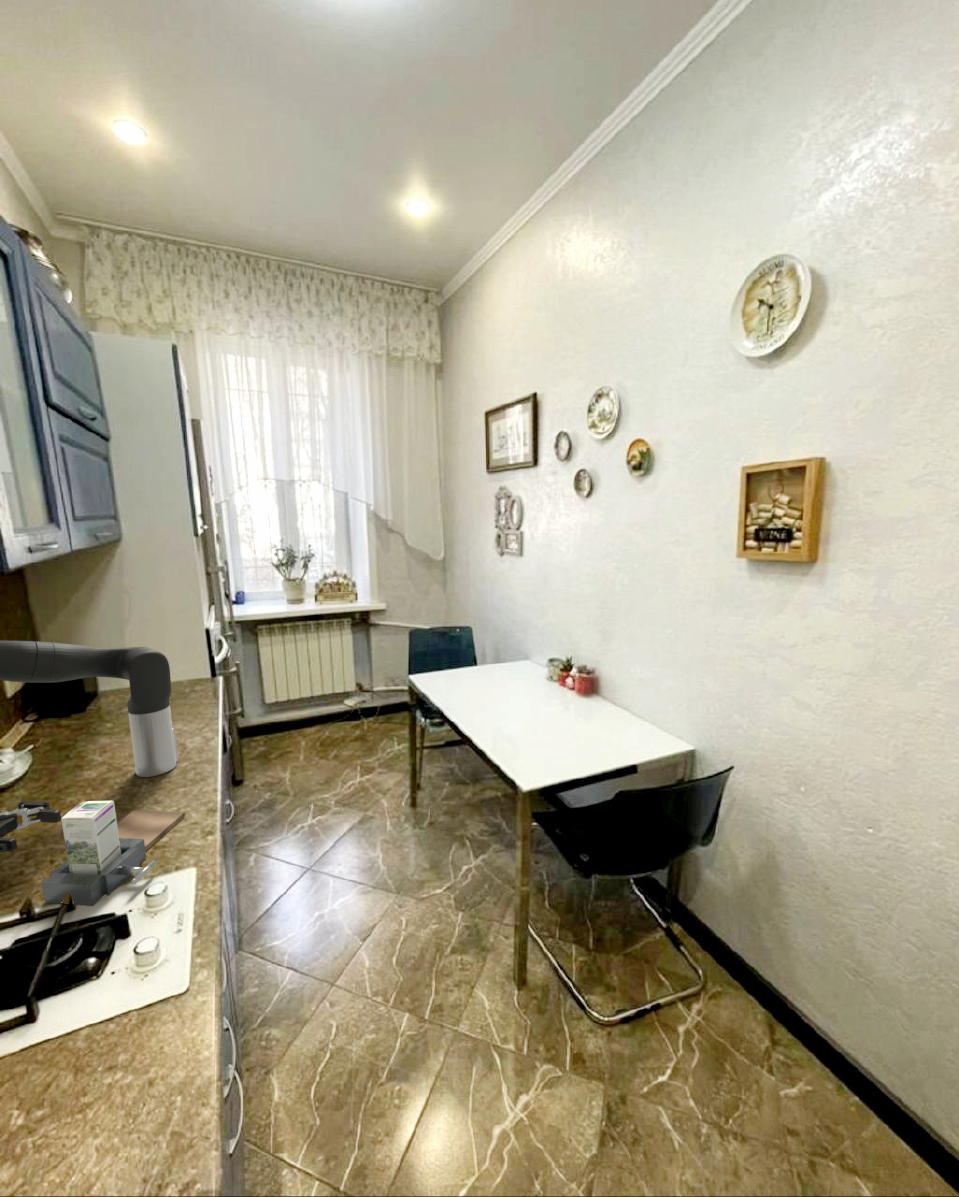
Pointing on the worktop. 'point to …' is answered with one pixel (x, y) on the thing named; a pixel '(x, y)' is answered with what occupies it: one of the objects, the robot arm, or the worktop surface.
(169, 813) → the walnut board
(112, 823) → the syrup box
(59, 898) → the vise
